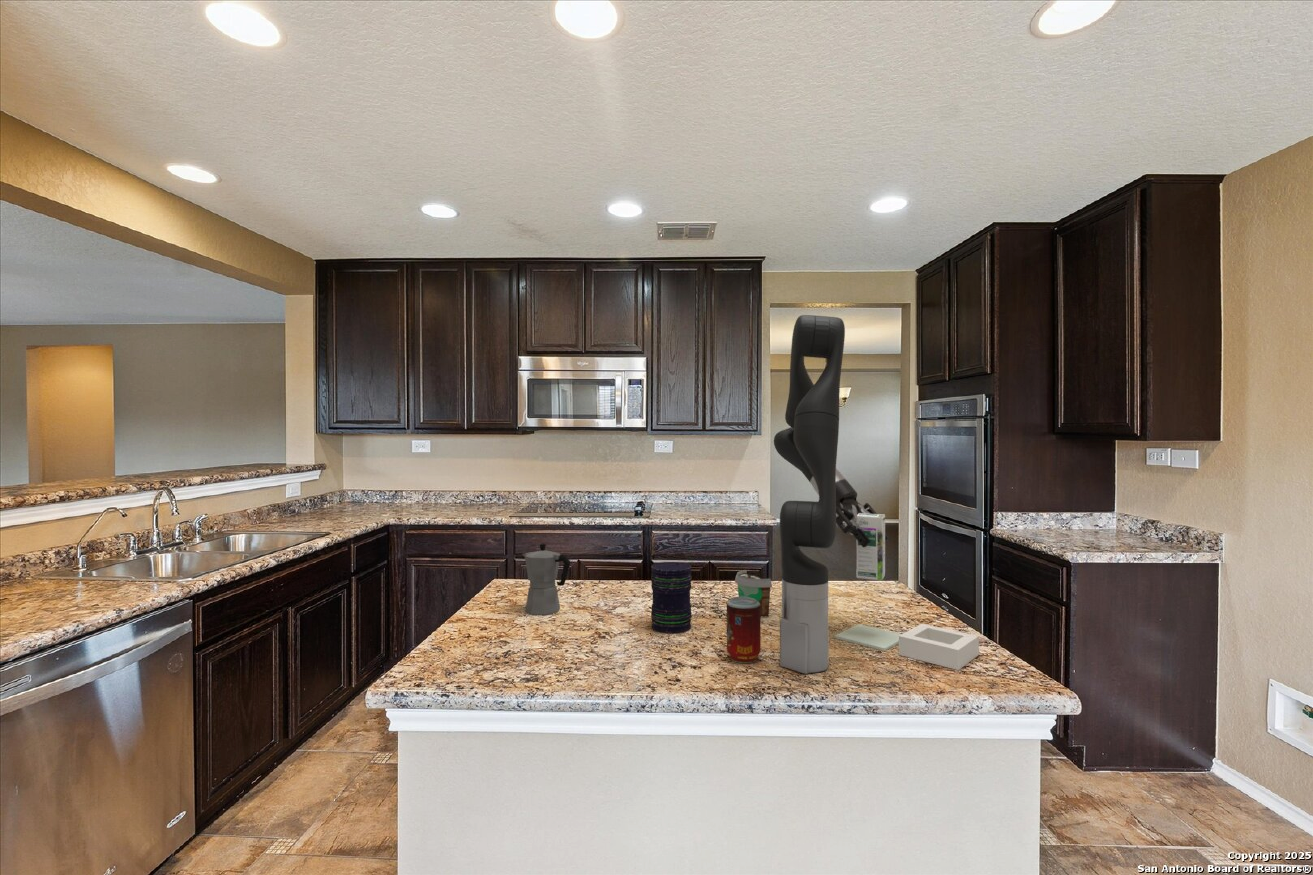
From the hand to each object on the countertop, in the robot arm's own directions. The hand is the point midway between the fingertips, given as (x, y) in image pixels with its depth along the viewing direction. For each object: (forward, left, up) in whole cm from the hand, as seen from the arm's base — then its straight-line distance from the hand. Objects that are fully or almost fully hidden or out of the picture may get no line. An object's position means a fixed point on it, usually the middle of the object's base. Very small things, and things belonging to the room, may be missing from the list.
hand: (876, 542), depth 138 cm
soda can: (-31, +14, -22) cm, 41 cm away
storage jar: (-27, +39, -22) cm, 53 cm away
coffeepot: (-41, +72, -22) cm, 86 cm away
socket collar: (0, -14, -22) cm, 26 cm away
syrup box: (0, +2, -8) cm, 8 cm away
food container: (-4, +33, -22) cm, 40 cm away
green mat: (0, +1, -22) cm, 22 cm away
